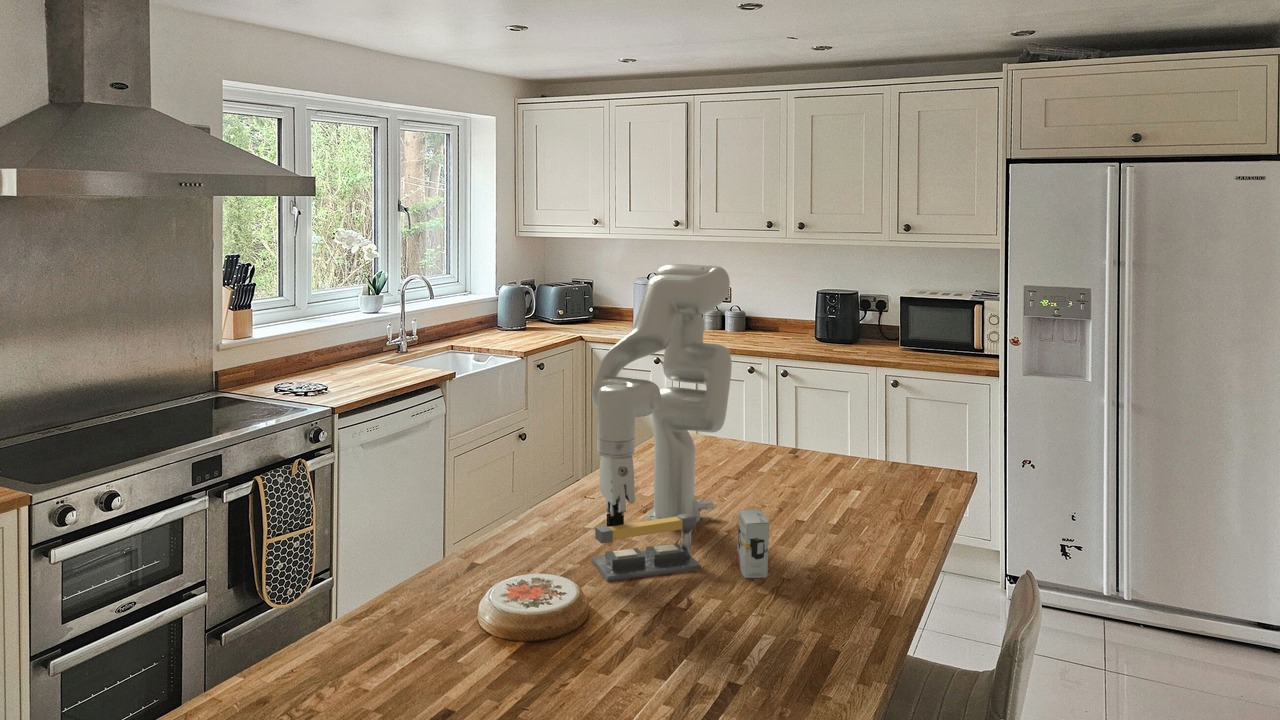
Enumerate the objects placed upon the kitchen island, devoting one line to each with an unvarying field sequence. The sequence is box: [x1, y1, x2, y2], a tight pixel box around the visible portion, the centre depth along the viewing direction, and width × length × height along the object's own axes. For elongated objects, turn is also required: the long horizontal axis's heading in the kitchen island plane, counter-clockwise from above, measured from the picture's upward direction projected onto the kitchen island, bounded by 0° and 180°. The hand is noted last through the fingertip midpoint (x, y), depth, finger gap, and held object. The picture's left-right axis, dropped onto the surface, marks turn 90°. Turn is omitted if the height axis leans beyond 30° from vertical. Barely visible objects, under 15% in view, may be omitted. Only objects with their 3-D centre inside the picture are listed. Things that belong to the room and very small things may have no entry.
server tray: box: [591, 529, 701, 582], centre depth 201 cm, size 20×11×7 cm, turn 109°
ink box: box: [736, 508, 770, 579], centre depth 199 cm, size 9×5×12 cm, turn 5°
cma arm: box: [594, 514, 697, 544], centre depth 199 cm, size 22×4×2 cm, turn 115°
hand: (615, 532), depth 200 cm, fingers closed
